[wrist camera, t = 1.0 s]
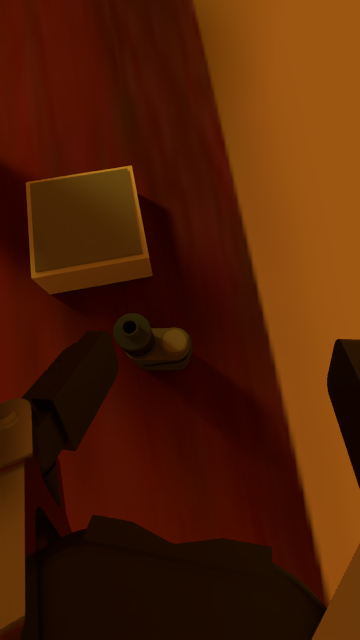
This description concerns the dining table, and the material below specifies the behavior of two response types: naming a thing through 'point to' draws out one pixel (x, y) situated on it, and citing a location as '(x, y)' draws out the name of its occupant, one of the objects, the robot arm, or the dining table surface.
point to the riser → (86, 230)
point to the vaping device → (152, 343)
